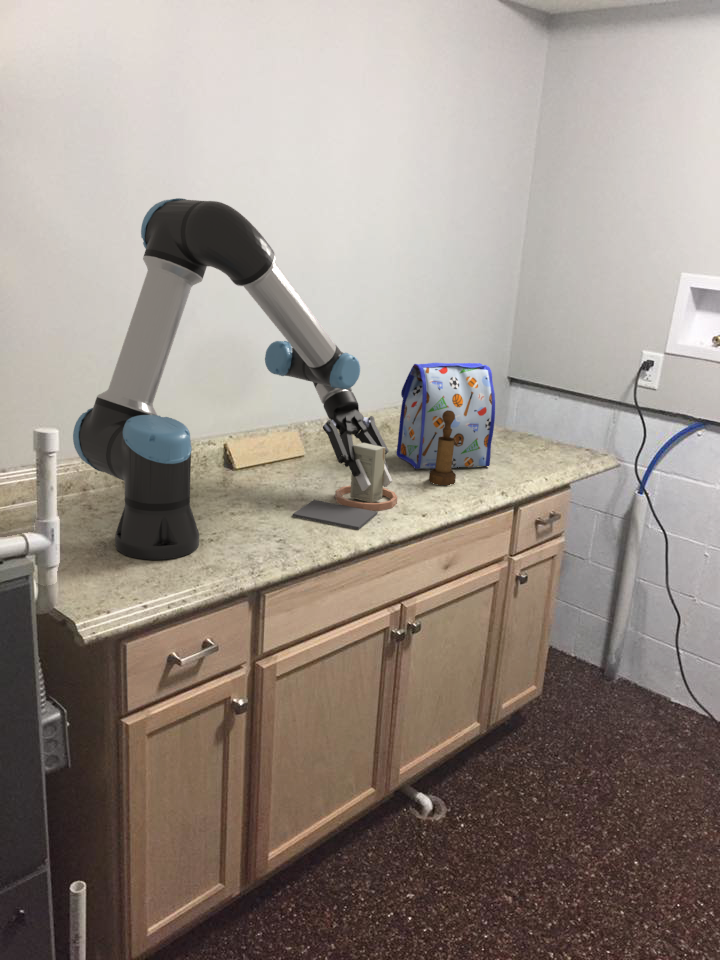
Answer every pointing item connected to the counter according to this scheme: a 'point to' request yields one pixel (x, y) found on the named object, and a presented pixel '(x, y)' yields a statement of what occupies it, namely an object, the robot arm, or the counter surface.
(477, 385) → the lunch bag
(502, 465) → the counter surface
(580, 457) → the counter surface
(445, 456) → the mortar and pestle
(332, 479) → the counter surface
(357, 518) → the rubber mat
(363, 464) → the skincare box
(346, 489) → the pink polygonal ring
